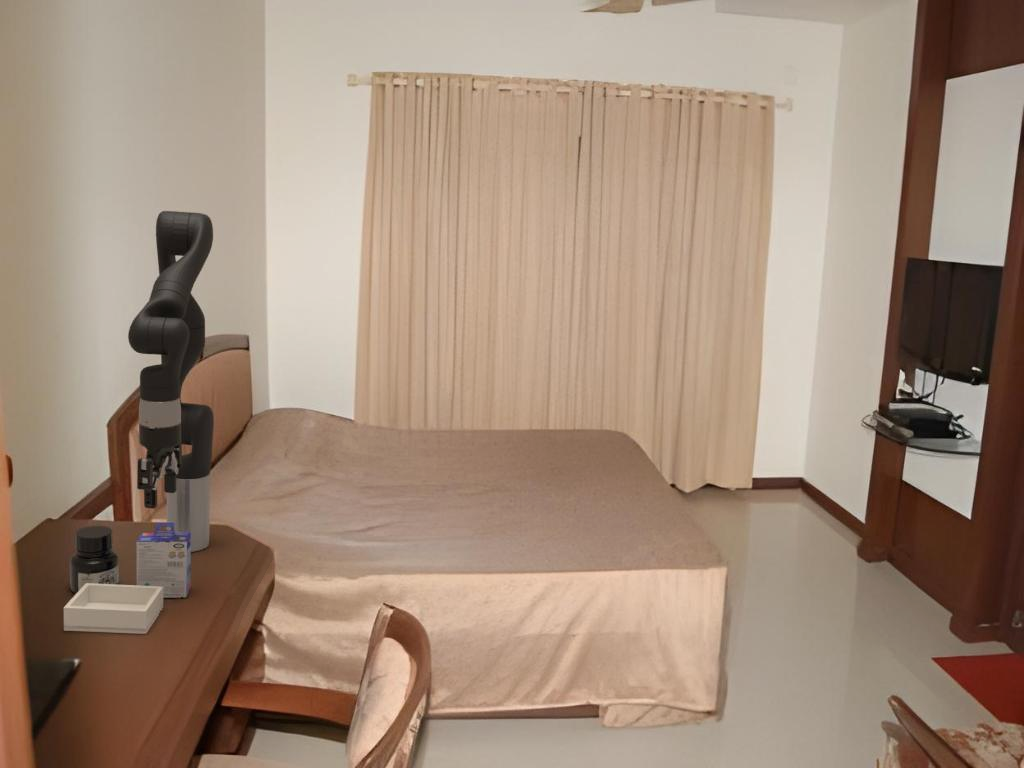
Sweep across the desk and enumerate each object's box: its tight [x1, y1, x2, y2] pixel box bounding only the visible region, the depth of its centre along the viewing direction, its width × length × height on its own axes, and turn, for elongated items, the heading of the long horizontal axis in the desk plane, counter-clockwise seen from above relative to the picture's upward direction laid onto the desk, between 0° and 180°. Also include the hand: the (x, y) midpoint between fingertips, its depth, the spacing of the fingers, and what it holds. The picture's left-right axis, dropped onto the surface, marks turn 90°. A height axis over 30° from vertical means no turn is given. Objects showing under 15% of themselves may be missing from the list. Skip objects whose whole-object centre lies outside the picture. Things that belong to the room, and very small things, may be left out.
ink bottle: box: [69, 525, 120, 594], centre depth 184 cm, size 10×9×12 cm
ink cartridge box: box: [135, 522, 192, 599], centre depth 184 cm, size 10×6×14 cm, turn 102°
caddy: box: [63, 583, 164, 635], centre depth 173 cm, size 11×15×4 cm
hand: (160, 499), depth 179 cm, fingers open, 8 cm apart
